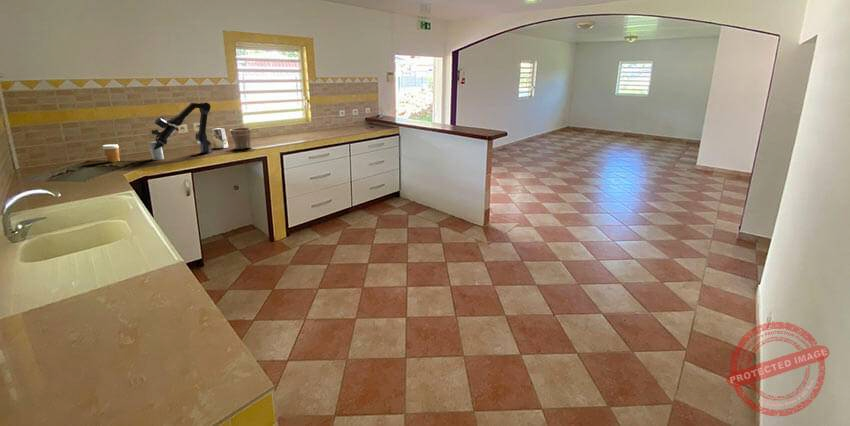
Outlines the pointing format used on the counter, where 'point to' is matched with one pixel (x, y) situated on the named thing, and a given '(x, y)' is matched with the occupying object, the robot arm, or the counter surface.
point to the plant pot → (241, 137)
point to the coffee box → (219, 138)
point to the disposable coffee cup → (112, 152)
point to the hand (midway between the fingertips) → (153, 148)
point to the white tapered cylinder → (156, 151)
